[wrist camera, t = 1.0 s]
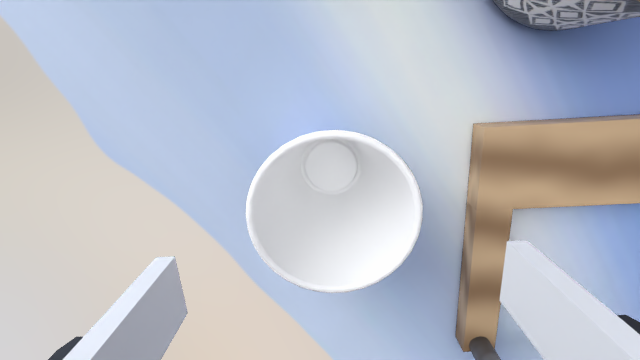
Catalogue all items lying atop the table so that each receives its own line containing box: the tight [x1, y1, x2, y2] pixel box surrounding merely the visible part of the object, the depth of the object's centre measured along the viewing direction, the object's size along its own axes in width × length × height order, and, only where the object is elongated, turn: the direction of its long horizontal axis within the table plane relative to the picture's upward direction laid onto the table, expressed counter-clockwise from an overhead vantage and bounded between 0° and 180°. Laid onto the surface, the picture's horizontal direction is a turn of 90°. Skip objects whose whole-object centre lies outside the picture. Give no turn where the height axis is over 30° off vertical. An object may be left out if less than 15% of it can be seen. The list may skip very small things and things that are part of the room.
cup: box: [246, 130, 423, 293], centre depth 24 cm, size 10×10×11 cm
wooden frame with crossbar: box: [456, 114, 640, 360], centre depth 27 cm, size 22×24×8 cm
